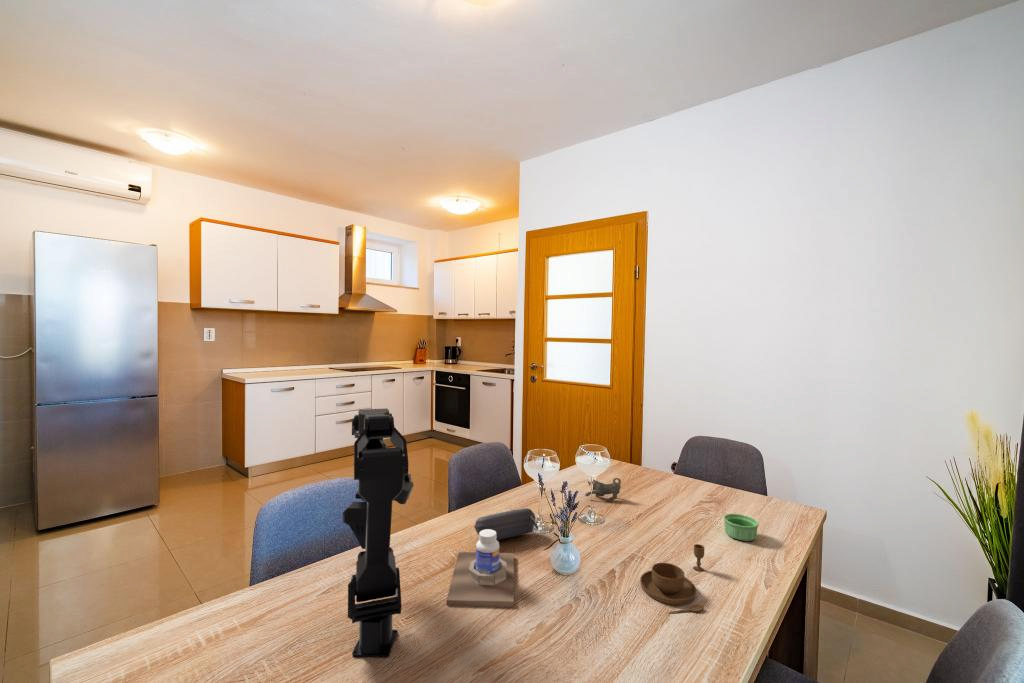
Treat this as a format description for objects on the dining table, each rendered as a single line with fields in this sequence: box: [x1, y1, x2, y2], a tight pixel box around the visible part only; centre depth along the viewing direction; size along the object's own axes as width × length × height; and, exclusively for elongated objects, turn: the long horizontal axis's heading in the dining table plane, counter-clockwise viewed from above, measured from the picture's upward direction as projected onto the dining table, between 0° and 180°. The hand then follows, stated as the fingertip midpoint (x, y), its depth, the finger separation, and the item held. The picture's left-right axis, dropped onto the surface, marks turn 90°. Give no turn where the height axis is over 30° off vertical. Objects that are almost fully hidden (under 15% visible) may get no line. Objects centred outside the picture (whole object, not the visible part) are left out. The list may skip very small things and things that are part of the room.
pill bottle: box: [475, 529, 500, 574], centre depth 101 cm, size 5×5×10 cm
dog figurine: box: [584, 477, 622, 502], centre depth 153 cm, size 12×6×7 cm, turn 80°
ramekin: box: [723, 513, 760, 542], centre depth 127 cm, size 9×9×4 cm
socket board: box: [446, 551, 515, 608], centre depth 102 cm, size 20×14×3 cm
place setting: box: [639, 543, 705, 615], centre depth 100 cm, size 18×20×6 cm
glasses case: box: [473, 507, 539, 541], centre depth 121 cm, size 18×10×8 cm, turn 117°
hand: (372, 538), depth 95 cm, fingers open, 9 cm apart
